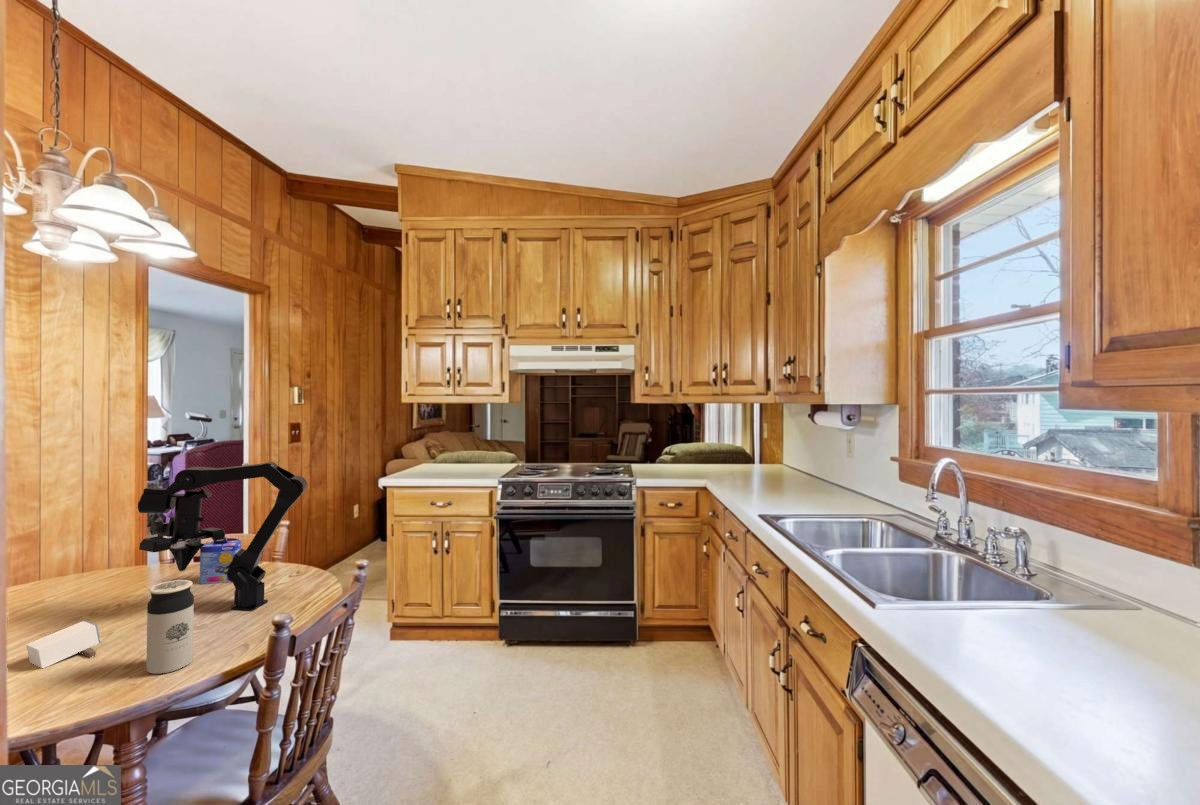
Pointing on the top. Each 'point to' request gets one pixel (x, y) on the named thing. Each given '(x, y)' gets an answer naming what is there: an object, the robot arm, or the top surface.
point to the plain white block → (63, 644)
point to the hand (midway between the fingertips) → (181, 570)
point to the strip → (88, 652)
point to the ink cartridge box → (217, 560)
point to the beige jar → (170, 626)
